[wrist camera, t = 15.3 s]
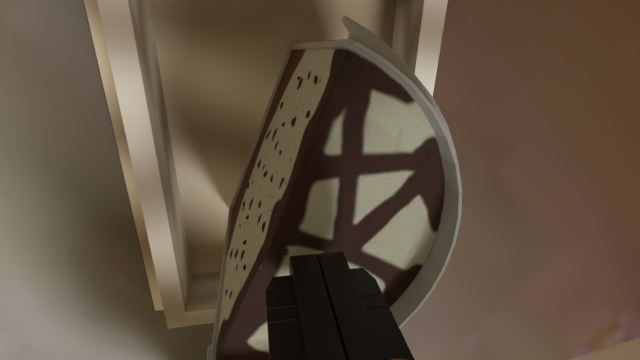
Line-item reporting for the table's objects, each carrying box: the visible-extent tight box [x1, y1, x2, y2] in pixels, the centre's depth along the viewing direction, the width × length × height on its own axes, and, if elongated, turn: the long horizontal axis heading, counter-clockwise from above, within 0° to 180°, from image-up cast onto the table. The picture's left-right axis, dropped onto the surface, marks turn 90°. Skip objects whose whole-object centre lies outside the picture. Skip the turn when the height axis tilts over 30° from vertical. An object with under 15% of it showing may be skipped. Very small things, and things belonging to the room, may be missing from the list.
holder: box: [84, 0, 448, 329], centre depth 18 cm, size 20×16×4 cm
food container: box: [207, 15, 462, 360], centre depth 15 cm, size 12×6×10 cm, turn 156°
